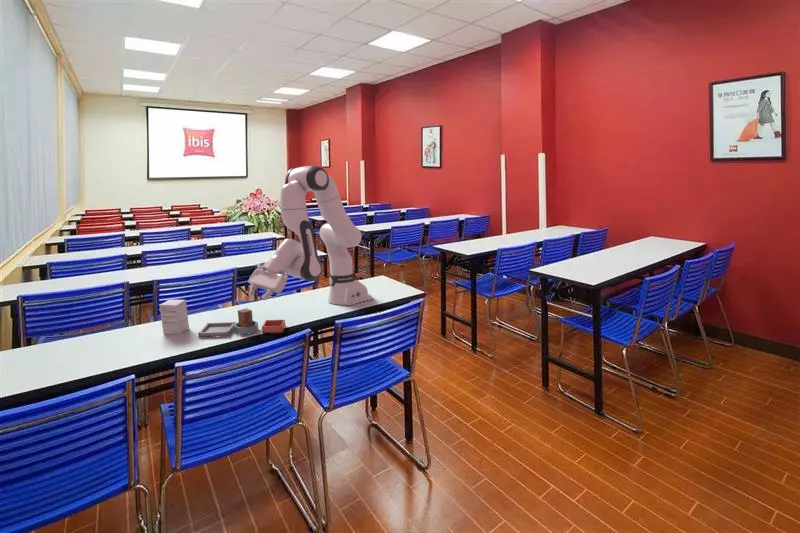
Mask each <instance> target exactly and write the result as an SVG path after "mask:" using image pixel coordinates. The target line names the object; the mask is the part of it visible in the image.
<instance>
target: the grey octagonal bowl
mask: <svg viewBox="0 0 800 533" xmlns="http://www.w3.org/2000/svg"><path fill="white" fill-rule="evenodd" d="M258 330H259V322H258V321H256V320H253V326H250V327H239V321H238V322H236V324H235V325H234V330H233V333H234V332H235V333H234V334H236V333H237V334H236V335H238V334H249V333H252V334H254V333H253V332H255V333H257V332H258ZM256 331H257V332H256ZM249 335H250V334H249Z"/></svg>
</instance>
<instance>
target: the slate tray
mask: <svg viewBox="0 0 800 533" xmlns="http://www.w3.org/2000/svg"><path fill="white" fill-rule="evenodd" d="M236 323H237V322H236V321H228V322H227V321H225V322H207V323H206V324H204V326H203V327H202V328H201V330H200V331H199V332H198V333H197V334H198V335H197V336H198V338H199V337H207V338H217V337H216V336H229V337H230V335H231V334H232V333H233V332H234V325H235V324H236ZM231 332H232V333H231ZM230 333H231V334H230ZM214 336H215V337H214Z"/></svg>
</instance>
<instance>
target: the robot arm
mask: <svg viewBox="0 0 800 533" xmlns="http://www.w3.org/2000/svg"><path fill="white" fill-rule="evenodd" d="M308 192H313V193H314V197H315V199H316V204H317V206H318V209H319V211H320V212H319V213H320V215H321V217H322V218H323V219H324V220H325V221H326V222H325V223H324V224H322V225H321V227H320V229H319V237H320V239H321V240H322V241H323V244H324V246H325V248H326V251H327V254H328V259H329V277H328V278H329V279H328V280H329V285H330V286H329V295H328V299H327V302H328V303H330V304H333V305H338V306H339V305H340V306H341V305H344V306H353V305H357V304H360V303H359V302H361V303H364V302H363V301H365V302H368V301H371V299H372V298H373V296H372V295H371V294H370V293H369V292H368V288H367V286H366V285H365V284H363V283H362V282H360V281H359V280H357V279H360V277H361V275H360V274H359V273H355V272H353V257H352V255H351V253H349V251H348V248H355V247H357V246H358V245H359V244H360V243H361V240H362V231H361V229H359V228H358V227H357V226H355V224H354V222H352V220H351V218H350V217H349V215H348V214H347V211H346V210H345V208H344V204H343V201H342V199H341V196H340V193H339V190H338V186H337V184H336V183H335V180H334V179H333V177H332V176H331V175H330V174H328V173H327V170H325V169H324V168H323V167H320V166H318V165H313V166H312V165H304V166H299V167H298V166H297V167H292V168H290V169H289V170H288V171H287V172H286V175H285V181H284V185H283V186H282V187H281V189H280V197H279V198H280V202H279V203H280V205H279V207H280V217H281V221H282V223H283V225H285V227H286V228H288V229H289V230H290V231H292V232H293V233H295V234H296V236H298V238H299V240H300V241H299V240H297V239H294V238H289V237H288V238H285V239H284V240H282V242H281V243H280V244H279V245H278V247H277V249H276V250H275V252H274V254H273V256H271V257H270V259H269V260H267V261H262V262H259V263H258V265H257V266H256V267H257V268H256V269H254V271H253V272H252V274H251V275H250V276H249V279H248V281H247V282H248V283H249V284H250V285H251V286H250V290H249V291H248V295H249V296H250V297H254V295H255V293H256V290H257V289H258V288H259V289H261V290H262V289H263V290H265V291H266V292H265V293H263V294H262V295H261V299H262V300H264V301H267V299H268V298H269V297H270V296H271V295H274V293H277V294H280V293H281V292H282V291H283V289H284V288H285V286H286V284H287V281H288V279H289V276H291V277H294V278H297V279H301V280H302V279H303V280H305V281H308V282H314V281H316V280H317V279H318V278H319V277H320V276H321V274H322V270H323V267H322V263H321V260H320V258H319V255H318V250H317V243H316V238H315V233H314V229H313V226H312V224H311V221H310V219H309V215H308V212H307V211H308V210H307V202H306V196H307V194H308ZM367 300H368V301H367ZM372 300H373V299H372ZM356 303H357V304H356Z"/></svg>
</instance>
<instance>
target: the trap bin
mask: <svg viewBox="0 0 800 533" xmlns="http://www.w3.org/2000/svg"><path fill="white" fill-rule="evenodd" d="M284 327H286V319H265V320H264V322H263V324H262V326H261V332H262V333H269V334H282V333H284V330H285V328H284ZM262 333H261V334H262Z"/></svg>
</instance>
